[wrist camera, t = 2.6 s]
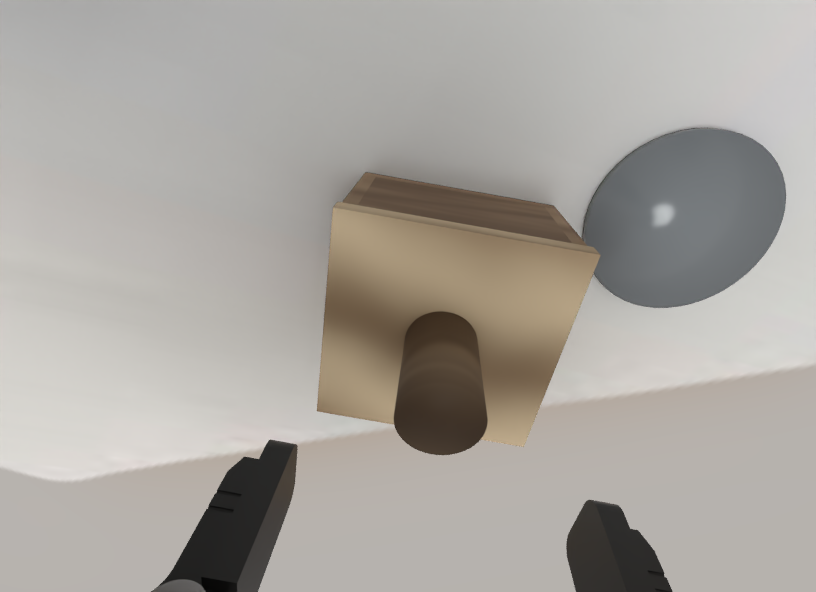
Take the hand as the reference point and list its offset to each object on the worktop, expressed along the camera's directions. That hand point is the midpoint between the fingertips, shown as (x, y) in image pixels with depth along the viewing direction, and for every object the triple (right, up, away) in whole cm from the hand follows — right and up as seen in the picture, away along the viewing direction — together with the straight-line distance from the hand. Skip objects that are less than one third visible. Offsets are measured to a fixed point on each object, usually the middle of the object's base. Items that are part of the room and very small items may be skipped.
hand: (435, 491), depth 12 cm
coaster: (+13, +9, +10) cm, 18 cm away
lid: (+1, +4, +7) cm, 8 cm away
